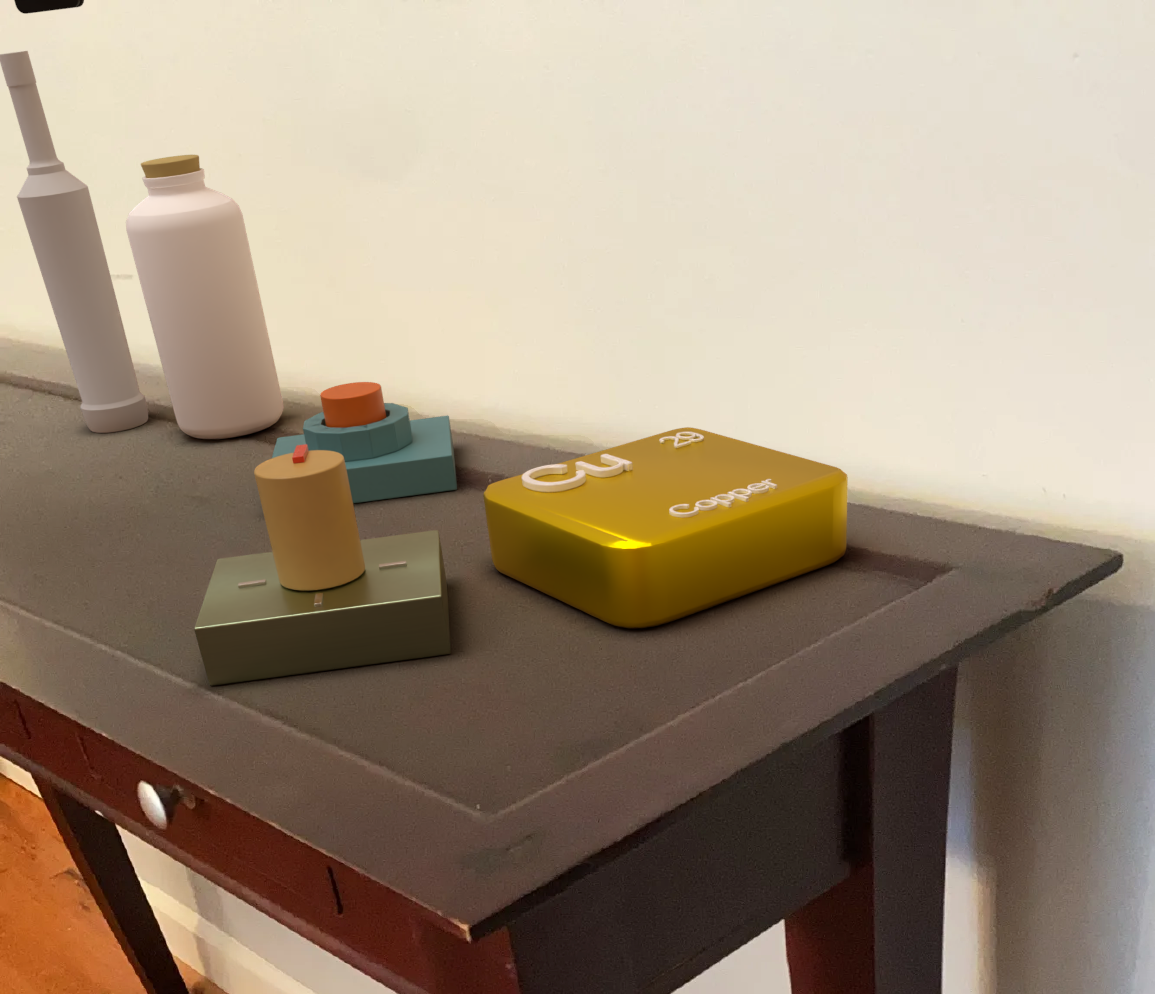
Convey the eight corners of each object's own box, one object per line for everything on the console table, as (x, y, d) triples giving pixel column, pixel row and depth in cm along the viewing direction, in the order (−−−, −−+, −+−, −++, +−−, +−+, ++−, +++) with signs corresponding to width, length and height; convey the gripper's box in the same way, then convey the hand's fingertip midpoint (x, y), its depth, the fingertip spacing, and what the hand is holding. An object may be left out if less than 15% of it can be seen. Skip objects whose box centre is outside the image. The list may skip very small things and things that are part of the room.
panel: (209, 686, 69) (192, 625, 67) (230, 612, 77) (215, 555, 75) (451, 654, 69) (441, 592, 67) (447, 583, 77) (437, 526, 75)
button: (325, 435, 91) (318, 401, 90) (327, 419, 94) (321, 386, 93) (386, 427, 91) (380, 393, 90) (387, 411, 94) (381, 378, 93)
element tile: (632, 638, 68) (624, 540, 66) (479, 565, 79) (466, 478, 76) (863, 555, 74) (865, 462, 71) (692, 497, 85) (688, 414, 82)
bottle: (76, 427, 115) (-36, 58, 99) (134, 412, 117) (33, 49, 102) (103, 437, 111) (-9, 56, 96) (161, 420, 114) (61, 46, 98)
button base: (273, 514, 91) (258, 450, 88) (284, 470, 98) (270, 410, 96) (457, 490, 91) (447, 425, 88) (453, 447, 99) (444, 387, 96)
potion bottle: (307, 413, 111) (251, 146, 100) (245, 444, 105) (180, 165, 94) (222, 411, 114) (160, 153, 103) (158, 442, 108) (85, 172, 97)
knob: (362, 585, 70) (339, 464, 66) (274, 595, 70) (246, 475, 66) (368, 555, 73) (345, 439, 69) (284, 565, 73) (257, 449, 70)
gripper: (-44, -568, 55) (99, 4, 67) (36, -473, 67) (146, -2, 78) (-234, -545, 55) (-59, 24, 66) (-120, -454, 67) (12, 15, 78)
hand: (52, 9), depth 72 cm, fingers closed
